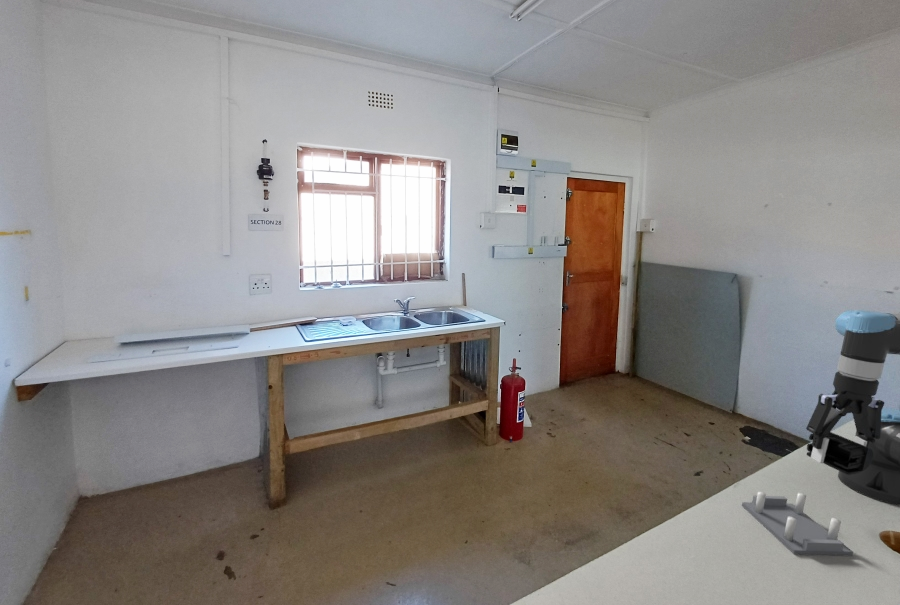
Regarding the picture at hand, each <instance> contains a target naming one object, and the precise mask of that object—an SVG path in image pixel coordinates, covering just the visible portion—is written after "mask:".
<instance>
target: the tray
mask: <svg viewBox="0 0 900 605" xmlns="http://www.w3.org/2000/svg"><path fill="white" fill-rule="evenodd" d="M806 499H807V495H806V494H805V493H802V492H797V496H796V500H795V504H794V503H788V498H787V497H786V496H785V495H784V496H780V495H779V496H778V495H767V494H766V493H765V492H763V491H757V494H756V495H753V496H752V500H751V501H752V502H749V501H747V502H743V501H742V503H741V507H742V508H744V509H745V510H746V511H747V513H749V514H750V515H751V516H752V517H753V518H754V519H755V520H757V522H759V523H760V524H761V525H762V527H764V528H765V529H766V530H767V531H768V532H769V533H771V535H773V536H774V537H775V538H776V539H777V541H779V542H780V543H781V544H782V545H783V546H784V547H785V548H786V549H787V550H788V551H789V552H791V553H792V555H805V556H806V555H807V556H810V555H811V556H813V555H814V556H839V557H840V556H841V557H853V555H854V551H853V550H851V549H850V548H849V547H848V546H847V545H845V544H844V542H842V540H840V539H838V537H839V534H840V529H841V528H840V527H841V524H842V521H841V520H840V519H838V518H836V517H831V519H830V523H829V527H828V530H826V529H825V528H824V527H822V526H821V524H819V523H818V522H816V521H815V520H814V519H813V518H811V517H810V516H808V515H807V513H805V512H804V507H805V504H806Z"/></svg>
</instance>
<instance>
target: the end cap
mask: <svg viewBox="0 0 900 605" xmlns="http://www.w3.org/2000/svg"><path fill="white" fill-rule="evenodd" d="M821 432H822V430H821ZM813 437H814V434H813V433H810V434H809V436H808V440H810V441H813ZM826 438H828V439H829V442H828V446H827V450H826V454H825V458H824V462H823V463H822V464H824V465H826V466H828V467H830V468H833V469H835V470H837V471H838V472H839V471H840V472H843V473H845V474H847V475H851V474H856V473H860V472H861V471H864V470H866V469H867V468H868V467H869V465H870V464H871V462H872V459H873V451H872V449H870V448H868V447H866V446H863V445H861V444H859V443H856V442H854V441H853V440H851V439H849V438H846V437H843V436H842V435H838V434H837V433H834V432H832V431H830V432H829V434H828V435H827V436H826ZM806 445H807V446H806V451H807V452H806V456H807V457H810V458H811V454H812V450H813V446H812V442H811V443H807V444H806Z"/></svg>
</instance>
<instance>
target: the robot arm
mask: <svg viewBox="0 0 900 605" xmlns="http://www.w3.org/2000/svg"><path fill="white" fill-rule="evenodd" d="M834 325H835V329H836V332H837V333H839V335H840V336H842V337H843V341H842V345H841V351H840V353H839V358H838V362H837V367H836V370H838V371H836V372H835V374H834V378H833V383H832V385H833V388H834V391H833V392H832V393H831V394H828V395H826V394H824V393H819V394H818V399H817V404H816V406H815V408H814V411H813V412H812V415H811V417H810V419H809V422H808V423H807V426H806V428H805V429H806V431H808V432H810V434H814V437H813V440H811V441H812V442H811V443H812V446H813V450H812V454H811V457H810V458H811V459H813V460H814V461H816V462H817V463H819V464H824V463H823V462H824V458H825V454H826V450H827V446H828V442H829V439H828V438H826V436H827V435H828V434H829V432H832V430H833V429H834V428H835V426H836V425H837V424H838V422H839V421H840V420H841V419H842V418H843V417H846V416H847V414H852V418H853V422H854V425H855V426H854V427H855V429H856V430H855V435H853V436H852V437H853V438H852V441H854V442H856V443H859V444H861V445H863V446H866V447H868V448H870V449H872V451H873V459H872V462H871V464H870V465H869V467H868V468H867V469H866V470H864V471H861V472H860V473H856V474H851V475H847V474H845V473H843V472H840V471H838V473H837V474H838V475H837V478H838V480H840V482H841V483H843V484H844V485H845V486H847V487H848V488H850V489H851V490H854V491H855V492H857V493H859V494H861V495H864V496H867V497H868V498H872V499H875V500H876V501H881V502H884V503H888V504H893V505H899V506H900V410H899V409H895V408H894V409H893V408H888V407H884V405H885V401H883V400H881V399H879V398H875V395H877V392H878V389H879V384H880V382H879V379H881V378H882V374H883V369H884V365H885V362H886V358H887V357H888V356H887V355H900V312H879V311H871V310H863V309H862V310H861V309H859V310H847V311H844V312H841V314H840V315H839V316H838V317H837V318H836V319H835V324H834ZM821 430H822V432H821Z"/></svg>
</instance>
